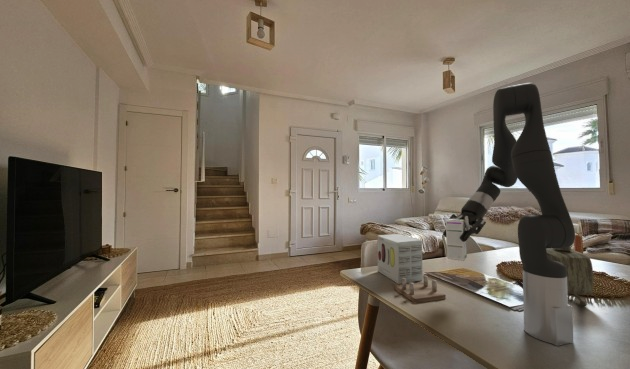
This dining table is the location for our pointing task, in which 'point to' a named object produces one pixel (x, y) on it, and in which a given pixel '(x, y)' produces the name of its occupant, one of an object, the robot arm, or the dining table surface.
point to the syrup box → (455, 239)
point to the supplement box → (400, 257)
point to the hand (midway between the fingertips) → (452, 238)
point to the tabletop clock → (575, 270)
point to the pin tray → (420, 291)
